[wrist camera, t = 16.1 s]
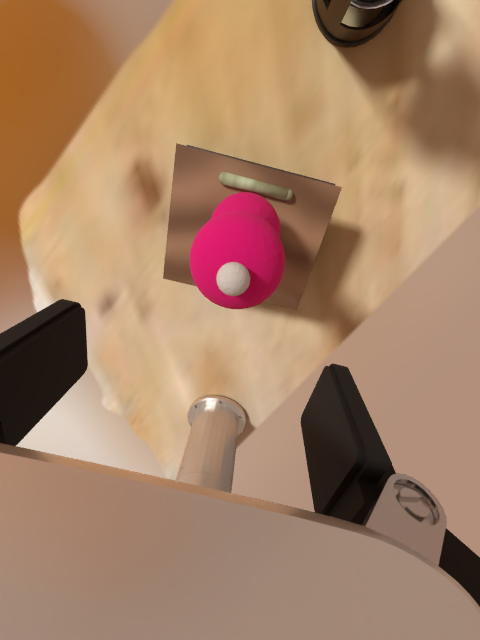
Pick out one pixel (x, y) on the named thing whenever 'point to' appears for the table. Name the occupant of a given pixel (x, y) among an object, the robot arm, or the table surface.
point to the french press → (347, 35)
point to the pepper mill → (239, 252)
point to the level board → (238, 176)
